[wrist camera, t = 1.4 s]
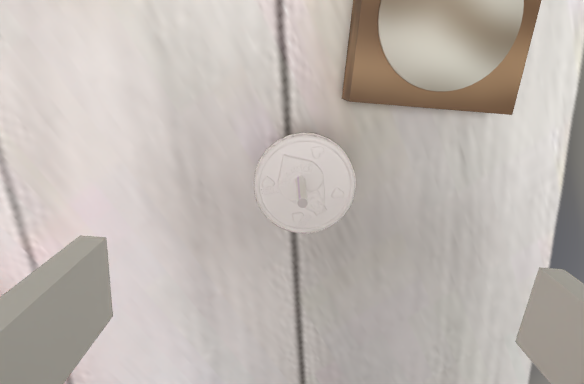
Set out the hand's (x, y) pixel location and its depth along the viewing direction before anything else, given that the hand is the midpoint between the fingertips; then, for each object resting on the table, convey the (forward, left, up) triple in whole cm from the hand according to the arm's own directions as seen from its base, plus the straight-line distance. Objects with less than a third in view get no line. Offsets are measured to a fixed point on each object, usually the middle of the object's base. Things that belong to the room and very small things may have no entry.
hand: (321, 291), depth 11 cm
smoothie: (0, 0, -22) cm, 22 cm away
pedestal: (+11, -9, -21) cm, 26 cm away
